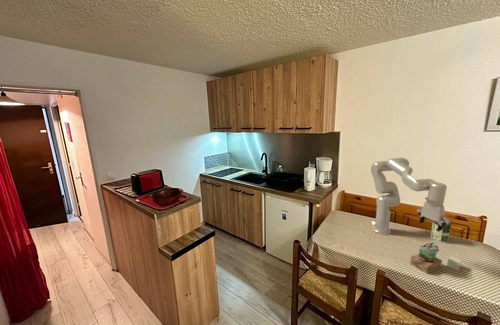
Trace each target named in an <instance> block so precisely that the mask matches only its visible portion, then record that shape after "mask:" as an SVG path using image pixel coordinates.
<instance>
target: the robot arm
mask: <svg viewBox="0 0 500 325" xmlns="http://www.w3.org/2000/svg"><path fill="white" fill-rule="evenodd" d="M370 172H371V175H372V177H373V182H374V186H375V190H376V192H377V193H378V194H381V195H378V196H377V197H376V200H375V202H376V214H375V215H376V216H375V221H372V222H371V225H372V226H373V227H372V230H373V231H375V233H377V234H380V235H385V236H386V235H390V234H391V229H390V222H391V221H390V219H391V210H390V208H391V207H397V206H399V205H400V204H401V196H400V192H399V188H398V186H397V184H396V183H395V182H394V181H387V179H386V175H385V174H384V173H383V172H395V174H397V175H399V176H400V177H401V181H402V183H403V184H404V185H405V186H406V187H407V188H408V189H410V190H412V191H414V192H423V191H425V192H427V191H428V193H427V197H424V199H425V200H426V201H424V204H423V205H422V208H417V209H416V211H417V214H418V217H419V223H420V224H423V223H425V218H426V219H428V220H431V221H432V222H433V221H436V222H438V223H439V225H438V228H437V231H441V230H442V229H443V225H446V224H448V223H451V220H449V218H447V217H446V216H445V206H444V203H445V198H446V194H447V193H446V192H447V185H446V184H444V183H441V182H439V181H436V180H433V179H430V178H425V179H424V178H421V179H415V178H414V177H413V176H411V175H412V173H413V172H414V171H413V168H412V167H411V166H410V161H409V160H408V159H407V158H405V157H396V158H395V157H394V158H390V159H388V160H381V161H375V162H374V163H372V165H371V166H370ZM383 194H385V195H383ZM443 220H444V221H445V222H443Z"/></svg>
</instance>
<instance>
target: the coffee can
mask: <svg viewBox="0 0 500 325" xmlns="http://www.w3.org/2000/svg"><path fill="white" fill-rule="evenodd" d="M443 222H445V220H444V219H443ZM438 225H439V223H438V222H436V221H433V220H432V225H431V231H430V238H431V239H432V240H433V241H436V242H439V243H443V244H444V243H448V242H449V239H450V234H451V229H452V223H451V222H449V223H448V224H446V225H443V229H442V230H441V231H437V228H438Z"/></svg>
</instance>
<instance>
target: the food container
mask: <svg viewBox="0 0 500 325" xmlns="http://www.w3.org/2000/svg"><path fill="white" fill-rule="evenodd" d="M418 249H419V250H418V251H419V252H418V254H419V259H420V260H422V261H425V262H434V260H435V257H436V256H437V253H439V251H440V249H439V246H438V245H437V243H436V242H434V241H431V242H429V243H426V244H424V245H419V246H418Z"/></svg>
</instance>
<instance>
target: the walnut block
mask: <svg viewBox="0 0 500 325" xmlns="http://www.w3.org/2000/svg"><path fill="white" fill-rule="evenodd" d="M442 262H443V260H442V259H441V258H439V257H436V256H435V260H434V262H425V261H422V260H420V259H419V253H418V254H416V255H413V256H411V257H410V265H411V266H414V267H415V268H417V269H418V270H420V271H422V272H423V273H425V274H429V273H431V272H433V271H435V270H438V269H440V268H441V267H442ZM437 268H438V269H437ZM430 271H431V272H430Z"/></svg>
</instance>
